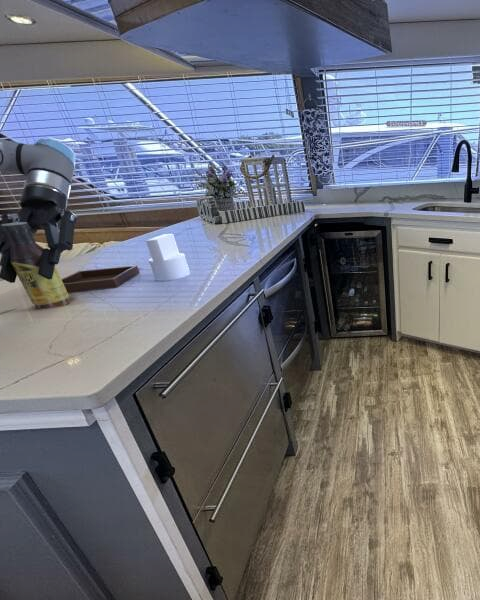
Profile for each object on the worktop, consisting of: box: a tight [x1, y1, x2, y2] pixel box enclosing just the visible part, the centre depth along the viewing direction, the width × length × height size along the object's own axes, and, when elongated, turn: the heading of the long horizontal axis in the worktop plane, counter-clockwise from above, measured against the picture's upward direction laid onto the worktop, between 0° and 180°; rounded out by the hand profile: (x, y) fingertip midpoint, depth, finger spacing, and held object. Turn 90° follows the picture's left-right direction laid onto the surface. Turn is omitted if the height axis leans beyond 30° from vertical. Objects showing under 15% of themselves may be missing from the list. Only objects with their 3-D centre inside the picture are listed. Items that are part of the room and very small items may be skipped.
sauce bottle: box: [0, 222, 71, 310], centre depth 73 cm, size 6×6×20 cm
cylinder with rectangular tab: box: [145, 233, 191, 282], centre depth 95 cm, size 9×9×12 cm
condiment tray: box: [61, 265, 141, 294], centre depth 94 cm, size 16×14×2 cm
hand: (26, 278), depth 71 cm, fingers closed on sauce bottle, 6 cm apart
